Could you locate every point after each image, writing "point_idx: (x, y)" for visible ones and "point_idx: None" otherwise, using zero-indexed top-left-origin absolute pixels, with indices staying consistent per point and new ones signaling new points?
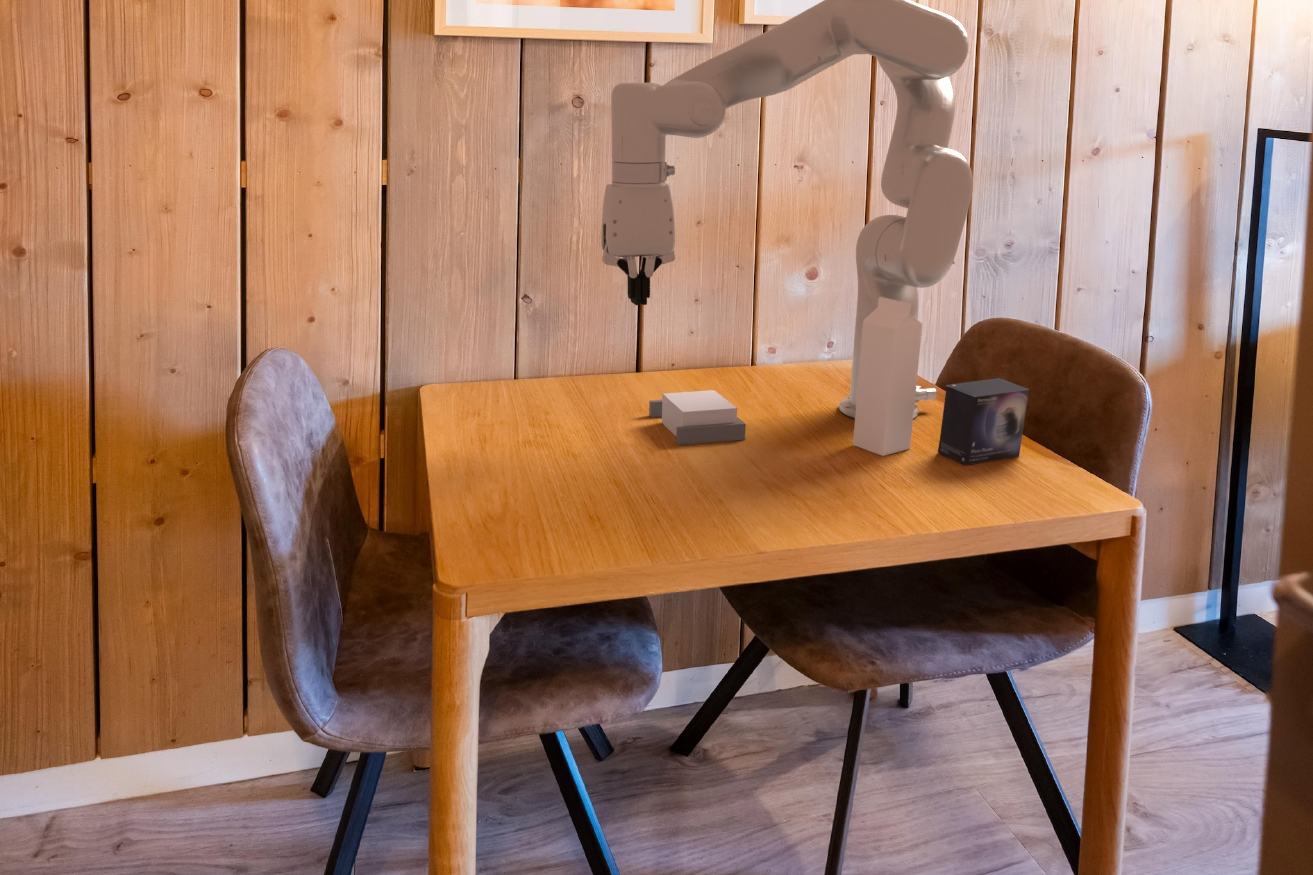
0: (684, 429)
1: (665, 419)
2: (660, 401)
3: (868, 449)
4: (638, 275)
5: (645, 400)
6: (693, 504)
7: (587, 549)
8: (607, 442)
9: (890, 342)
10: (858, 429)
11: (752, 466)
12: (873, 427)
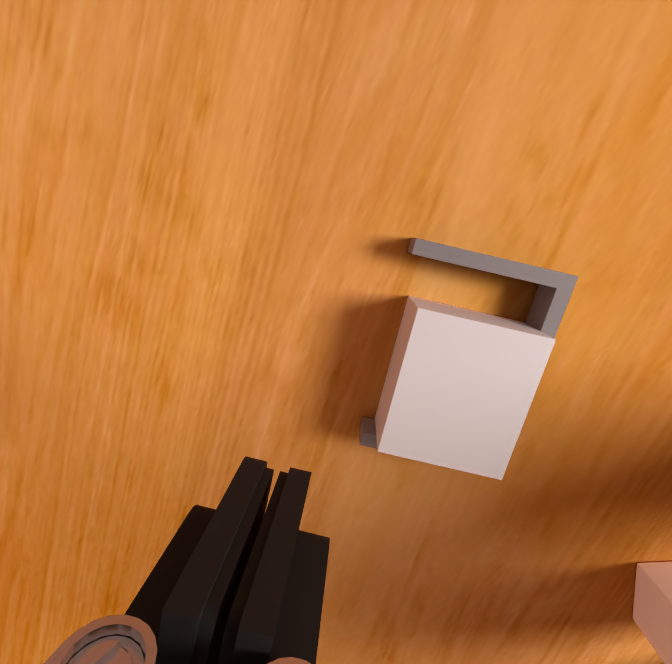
0: (371, 446)
1: (403, 322)
2: (436, 258)
3: (635, 594)
4: (235, 646)
5: (474, 112)
6: None
7: None
8: (247, 355)
9: None
10: (659, 600)
11: (410, 559)
12: (667, 643)
